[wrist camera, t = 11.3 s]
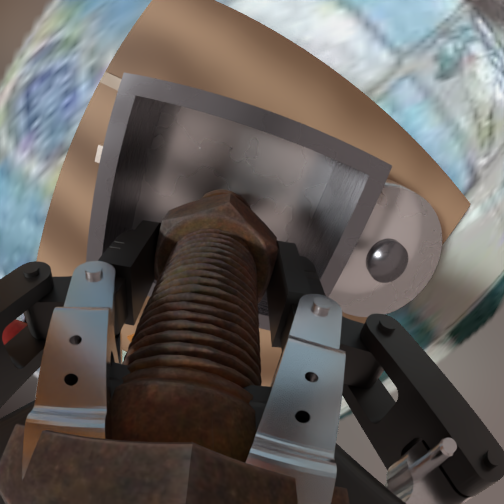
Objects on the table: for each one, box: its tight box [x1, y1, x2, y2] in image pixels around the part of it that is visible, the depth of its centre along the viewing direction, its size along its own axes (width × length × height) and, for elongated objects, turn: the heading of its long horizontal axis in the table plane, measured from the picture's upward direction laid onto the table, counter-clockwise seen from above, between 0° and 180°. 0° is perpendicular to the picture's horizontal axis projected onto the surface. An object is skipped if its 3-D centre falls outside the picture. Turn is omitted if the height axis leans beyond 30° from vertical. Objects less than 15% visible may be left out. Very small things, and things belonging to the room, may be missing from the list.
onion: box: [2, 319, 27, 345], centre depth 20 cm, size 6×6×8 cm
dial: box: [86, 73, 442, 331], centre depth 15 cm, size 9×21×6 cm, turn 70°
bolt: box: [0, 189, 350, 504], centre depth 9 cm, size 6×5×15 cm
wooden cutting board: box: [36, 0, 471, 387], centre depth 19 cm, size 25×25×2 cm
